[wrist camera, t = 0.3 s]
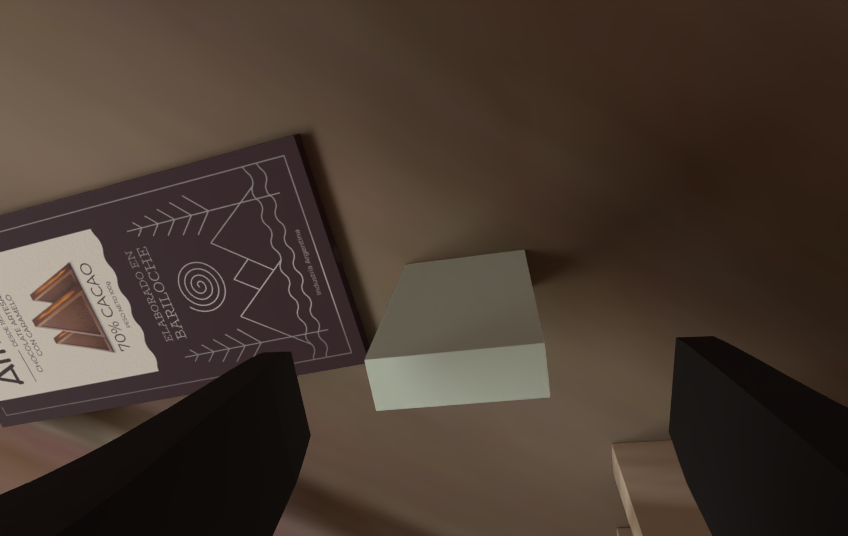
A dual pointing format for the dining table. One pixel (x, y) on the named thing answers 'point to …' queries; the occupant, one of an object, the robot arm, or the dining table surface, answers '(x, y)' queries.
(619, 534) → the maple domino
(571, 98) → the dining table surface
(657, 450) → the maple domino
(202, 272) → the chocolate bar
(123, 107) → the dining table surface
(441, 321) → the sage domino
